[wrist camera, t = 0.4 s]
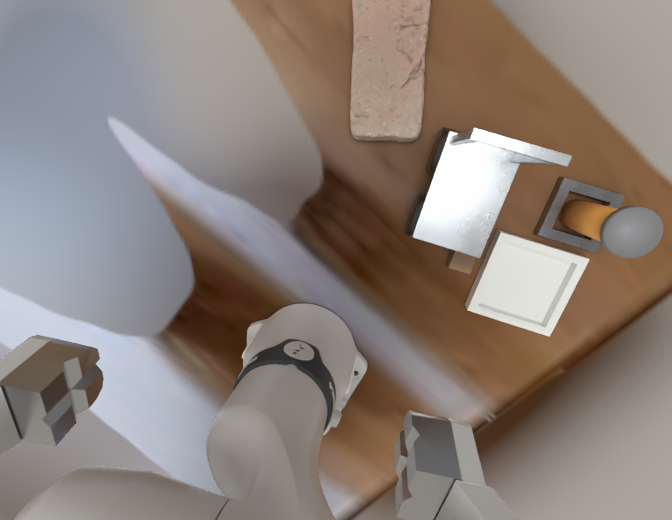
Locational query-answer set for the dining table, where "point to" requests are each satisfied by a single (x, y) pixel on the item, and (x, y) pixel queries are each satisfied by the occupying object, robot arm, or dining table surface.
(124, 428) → the dining table surface
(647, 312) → the dining table surface
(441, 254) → the dining table surface
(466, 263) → the block
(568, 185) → the socket
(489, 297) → the tray
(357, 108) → the brick
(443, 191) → the trolley
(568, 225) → the pin
